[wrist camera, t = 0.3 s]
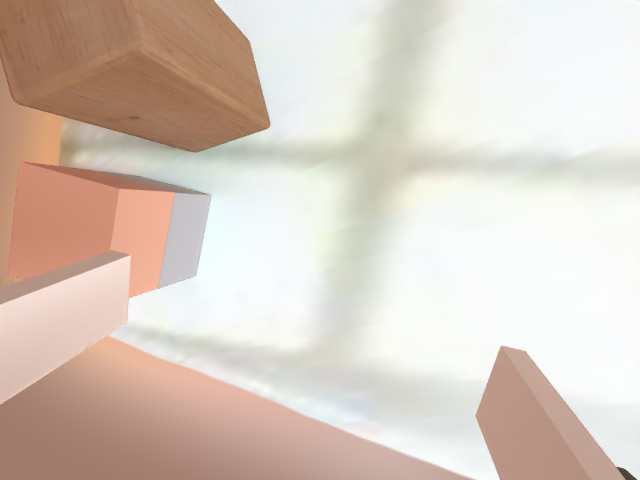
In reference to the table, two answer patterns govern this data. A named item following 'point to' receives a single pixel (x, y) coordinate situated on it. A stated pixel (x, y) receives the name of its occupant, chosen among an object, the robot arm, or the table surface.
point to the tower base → (180, 230)
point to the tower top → (87, 222)
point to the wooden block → (135, 67)
